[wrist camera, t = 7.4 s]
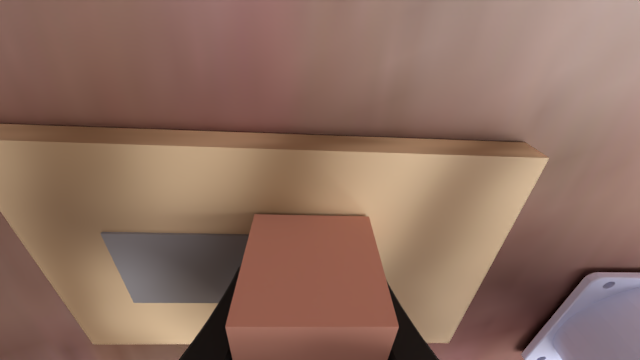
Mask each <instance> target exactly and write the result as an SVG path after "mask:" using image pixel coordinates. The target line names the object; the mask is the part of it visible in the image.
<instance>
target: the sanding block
mask: <svg viewBox="0 0 640 360" xmlns="http://www.w3.org/2000/svg"><path fill="white" fill-rule="evenodd" d="M225 328H226V333H227V337H228V342H229V346H230V351H231V355H232V360H388V357H389V354H390V351H391V348H392V345H393V343H394V340H395V337H396V334H397V331H398V328H399V325H398V321H397V317H396V314H395V310H394V306H393V303H392V299H391V295H390V292H389V288H388V284H387V281H386V277H385V273H384V270H383V266H382V262H381V259H380V255H379V251H378V248H377V244H376V240H375V237H374V233H373V229H372V226H371V222H370V218H369V217H367V216H318V215H269V214H254V218H253V222H252V225H251V229H250V233H249V237H248V241H247V245H246V248H245V252H244V256H243V260H242V264H241V268H240V272H239V275H238V279H237V283H236V287H235V291H234V295H233V298H232V302H231V306H230V310H229V314H228V318H227V321H226V325H225Z"/></svg>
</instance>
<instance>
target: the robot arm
mask: <svg viewBox="0 0 640 360" xmlns="http://www.w3.org/2000/svg"><path fill="white" fill-rule="evenodd" d="M240 268H241V266H240V267H238V269H237V271H236V273H235V275H234V277H233V279H232V281H231V283H230V285H229V286H228V288H227V290H226V291H225V293H224V295H223V297H222V298H221V300H220V301H219V303H218V305H217V306H216V308H215V309H214V311H213V312H212V314H211V316H210V317H209V319H208V320H207V322H206V323H205V325H204V326H203V327H202V329H201V330H200V332H199V333H198V334H197V336H196V337H195V339H194V340H193V341H192V343H191V344H190V346H189V347H188V348H187V350H186V351H185V352H184V354H183V355H182V356H181V358H180V359H179V360H232V355H231V351H230V346H229V342H228V337H227V333H226V328H225V325H226V321H227V318H228V314H229V310H230V306H231V302H232V298H233V295H234V291H235V287H236V283H237V279H238V275H239V272H240ZM386 281H387V280H386ZM387 284H388V282H387ZM388 288H389V292H390V295H391V299H392V303H393V306H394V310H395V314H396V317H397V321H398V325H399V328H398V331H397V334H396V337H395V340H394V343H393V345H392V348H391V351H390V354H389V357H388V360H439V359H438V358H437V357H436V355H435V354H434V353H433V351H432V350H431V349H430V347H429V346H428V344H427V343H426V342H425V340H424V339H423V337H422V336H421V335H420V333H419V332H418V330H417V329H416V327H415V326H414V324H413V323H412V321H411V320H410V318H409V317H408V315H407V314H406V312H405V311H404V309H403V308H402V306H401V304H400V303H399V301H398V299H397V298H396V296H395V294H394V293H393V291H392V289H391V287H390V286H389V284H388ZM521 355H522V357H523V359H524V360H640V273H637V272H594V273H591V274H589V275H587V276H585V277H584V278H583V279H582V281H581V282H580V283H579V284H578V285H577V287H576V288H575V289H574V290H573V292H572V293H571V294H570V295H569V296H568V298H567V299H566V300H565V301H564V302H563V304H562V305H561V306H560V307H559V308H558V310H557V311H556V312H555V313H554V315H553V316H552V317H551V318H550V319H549V321H548V322H547V323H546V324H545V325H544V327H543V328H542V329H541V330H540V331H539V333H538V334H537V335H536V336H535V338H534V339H533V340H532V341H531V342H530V344H529V345H528V346H527V347H526V348H525V350H524V351H523V352H522V354H521Z"/></svg>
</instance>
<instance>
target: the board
mask: <svg viewBox="0 0 640 360" xmlns="http://www.w3.org/2000/svg"><path fill="white" fill-rule="evenodd" d="M548 160H549V158H548V157H547V156H545V155H544V154H542V153H541V152H539V151H538V150H536V149H535V148H533V147H532V146H530V145H529V144H527V143H526V142H502V141H474V140H446V139H418V138H389V137H361V136H333V135H305V134H276V133H248V132H220V131H192V130H163V129H135V128H107V127H79V126H51V125H22V124H0V212H1V213H2V215H3V216H4V218H5V219H6V220H7V222H8V223H9V225H10V226H11V228H12V229H13V230H14V232H15V233H16V235H17V236H18V238H19V239H20V240H21V242H22V243H23V245H24V246H25V248H26V249H27V251H28V252H29V253H30V255H31V256H32V258H33V259H34V261H35V262H36V263H37V265H38V266H39V268H40V269H41V271H42V272H43V273H44V275H45V276H46V278H47V279H48V281H49V282H50V283H51V285H52V286H53V288H54V289H55V291H56V292H57V293H58V295H59V296H60V298H61V299H62V301H63V302H64V303H65V305H66V306H67V308H68V309H69V311H70V312H71V313H72V315H73V316H74V318H75V319H76V321H77V322H78V324H79V325H80V326H81V328H82V329H83V331H84V332H85V334H86V335H87V336H88V338H89V339H90V341H91V342H92V344H191V343H192V341H193V340H194V339H195V337H196V336H197V334H198V333H199V332H200V330H201V329H202V327H203V326H204V325H205V323H206V322H207V320H208V319H209V317H210V316H211V314H212V312H213V311H214V309H215V308H216V306H217V305H218V303H219V301H220V300H221V298H222V297H223V295H224V293H225V291H226V290H227V288H228V286H229V285H230V283H231V281H232V279H233V277H234V275H235V273H236V271H237V269H238V267H240V266H241V264H242V260H243V256H244V252H245V248H246V245H247V241H248V237H249V233H250V229H251V225H252V222H253V218H254V214H269V215H318V216H367V217H369V218H370V222H371V226H372V229H373V233H374V237H375V240H376V244H377V248H378V251H379V255H380V259H381V262H382V266H383V270H384V273H385V277H386V280H387V282H388V284H389V286H390V287H391V289H392V291H393V293H394V294H395V296H396V298H397V299H398V301H399V303H400V304H401V306H402V308H403V309H404V311H405V312H406V314H407V315H408V317H409V318H410V320H411V321H412V323H413V324H414V326H415V327H416V329H417V330H418V332H419V333H420V335H421V336H422V337H423V339H424V340H425V342H426V343H449V342H450V340H451V338H452V336H453V334H454V332H455V331H456V329H457V327H458V325H459V323H460V321H461V320H462V318H463V316H464V314H465V312H466V310H467V309H468V307H469V305H470V303H471V301H472V299H473V298H474V296H475V294H476V292H477V290H478V288H479V286H480V285H481V283H482V281H483V279H484V277H485V275H486V274H487V272H488V270H489V268H490V266H491V264H492V263H493V261H494V259H495V257H496V255H497V253H498V252H499V250H500V248H501V246H502V244H503V242H504V241H505V239H506V237H507V235H508V233H509V231H510V229H511V228H512V226H513V224H514V222H515V220H516V218H517V217H518V215H519V213H520V211H521V209H522V207H523V206H524V204H525V202H526V200H527V198H528V196H529V195H530V193H531V191H532V189H533V187H534V185H535V184H536V182H537V180H538V178H539V176H540V174H541V172H542V171H543V169H544V167H545V165H546V163H547V161H548Z"/></svg>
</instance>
